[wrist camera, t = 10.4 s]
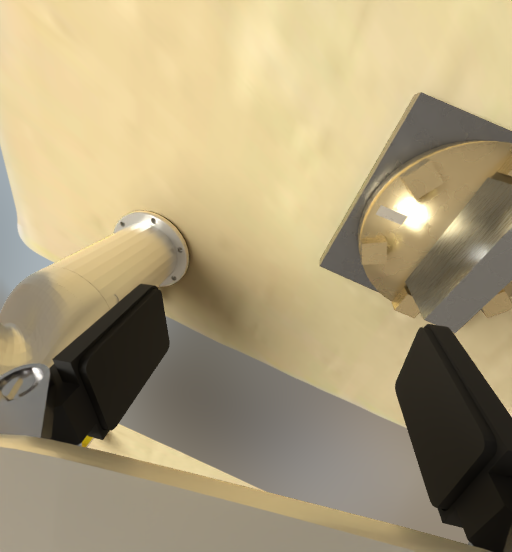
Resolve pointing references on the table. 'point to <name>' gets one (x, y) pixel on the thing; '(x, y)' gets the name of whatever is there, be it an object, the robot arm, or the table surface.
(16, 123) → the table surface
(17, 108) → the table surface
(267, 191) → the table surface
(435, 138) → the base plate
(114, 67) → the table surface
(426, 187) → the round hub with lugs
